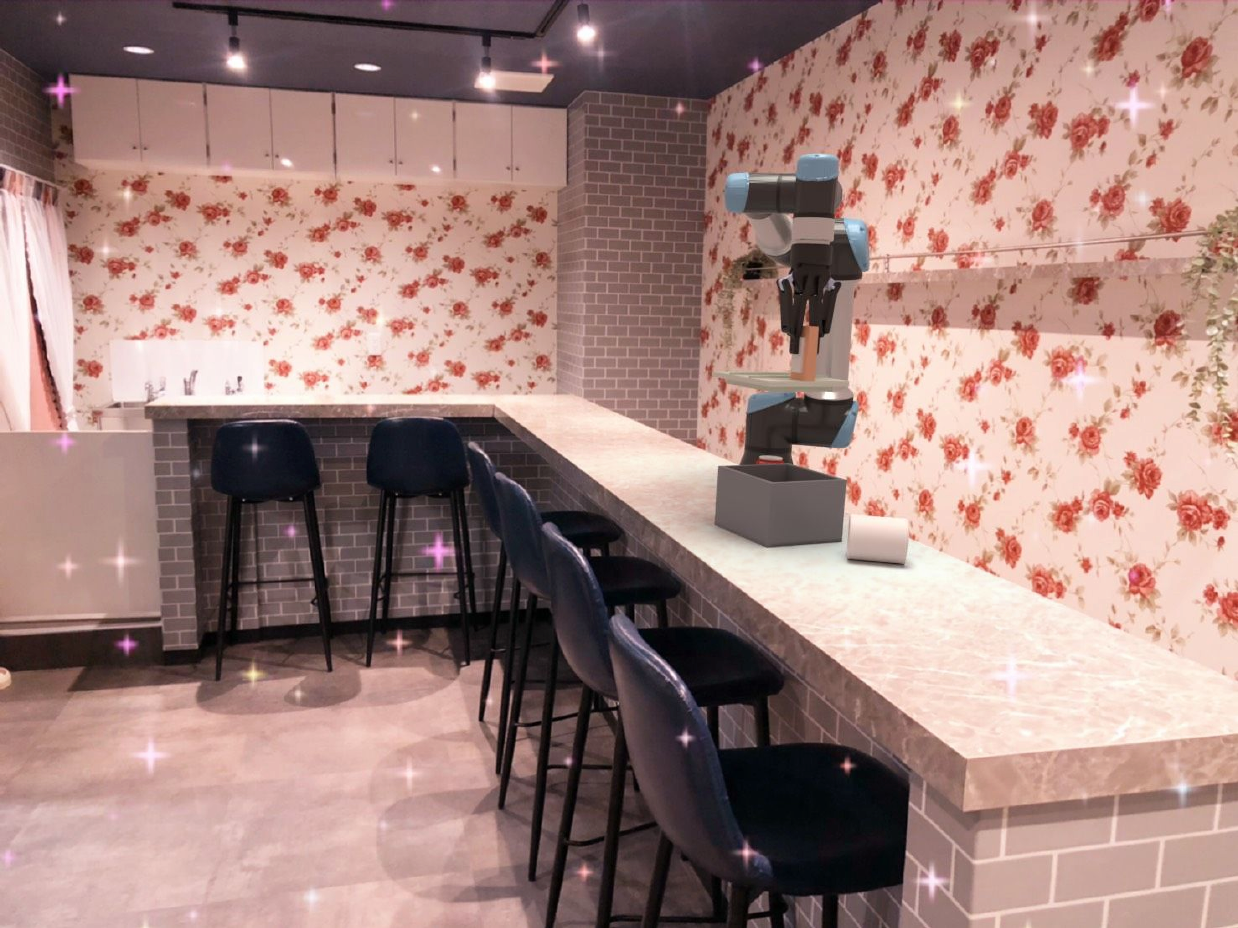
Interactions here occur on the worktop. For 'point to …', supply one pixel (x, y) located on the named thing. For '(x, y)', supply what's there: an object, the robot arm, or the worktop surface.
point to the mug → (877, 539)
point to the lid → (788, 373)
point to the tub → (780, 504)
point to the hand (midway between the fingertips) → (802, 372)
